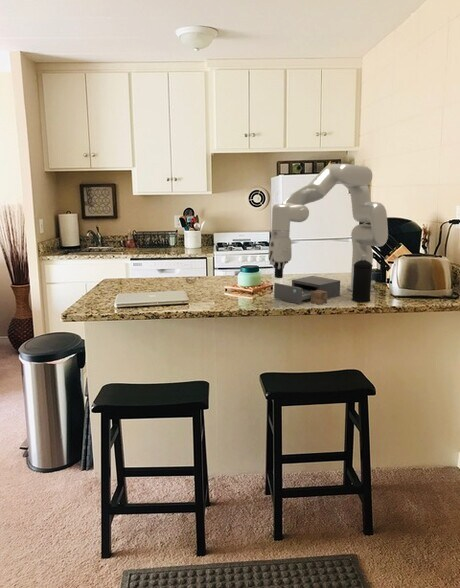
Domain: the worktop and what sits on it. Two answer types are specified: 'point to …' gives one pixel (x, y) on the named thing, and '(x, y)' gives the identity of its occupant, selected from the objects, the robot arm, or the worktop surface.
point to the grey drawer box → (319, 285)
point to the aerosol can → (362, 280)
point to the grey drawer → (290, 293)
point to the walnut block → (318, 297)
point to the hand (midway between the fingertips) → (278, 277)
